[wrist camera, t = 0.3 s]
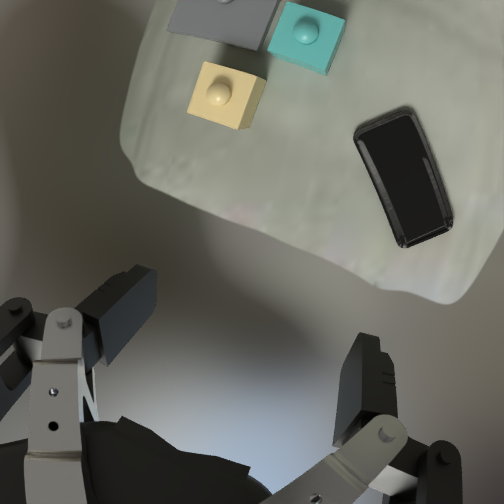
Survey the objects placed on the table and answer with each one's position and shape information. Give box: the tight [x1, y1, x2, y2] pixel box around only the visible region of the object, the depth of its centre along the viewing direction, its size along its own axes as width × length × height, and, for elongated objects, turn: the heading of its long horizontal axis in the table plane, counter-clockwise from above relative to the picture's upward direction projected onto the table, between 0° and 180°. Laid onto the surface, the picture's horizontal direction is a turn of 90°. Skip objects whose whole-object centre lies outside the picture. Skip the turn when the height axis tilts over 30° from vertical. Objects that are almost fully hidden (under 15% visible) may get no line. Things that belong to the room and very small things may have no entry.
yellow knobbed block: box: [187, 61, 266, 130], centre depth 31 cm, size 6×6×6 cm
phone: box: [353, 111, 453, 248], centre depth 32 cm, size 8×1×15 cm
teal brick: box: [268, 2, 345, 76], centre depth 27 cm, size 6×6×6 cm
